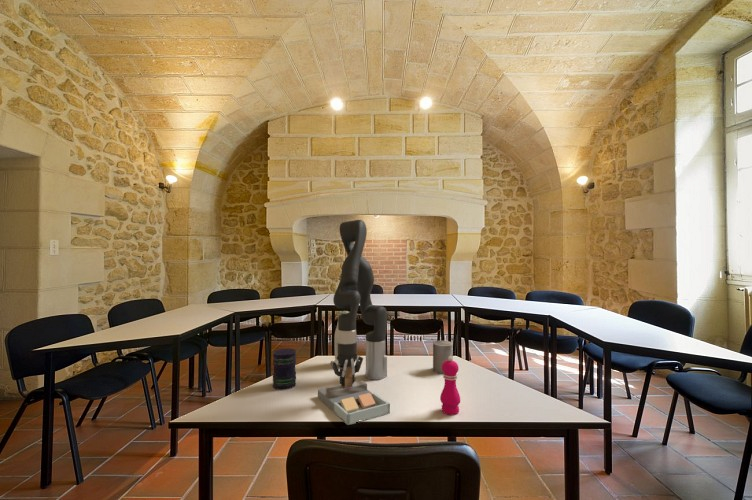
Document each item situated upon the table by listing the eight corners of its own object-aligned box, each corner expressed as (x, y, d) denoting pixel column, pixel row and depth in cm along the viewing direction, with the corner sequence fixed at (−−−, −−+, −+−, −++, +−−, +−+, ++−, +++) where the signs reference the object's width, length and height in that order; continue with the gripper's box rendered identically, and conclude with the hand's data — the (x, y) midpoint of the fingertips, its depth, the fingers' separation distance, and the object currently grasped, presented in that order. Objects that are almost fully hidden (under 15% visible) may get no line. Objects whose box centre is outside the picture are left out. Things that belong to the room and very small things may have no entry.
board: (355, 388, 148) (355, 381, 148) (374, 402, 135) (374, 394, 135) (317, 396, 139) (317, 389, 139) (334, 412, 126) (334, 404, 126)
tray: (374, 402, 135) (374, 393, 135) (389, 413, 125) (389, 403, 125) (334, 412, 126) (334, 402, 126) (347, 425, 116) (347, 414, 116)
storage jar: (278, 391, 145) (278, 356, 145) (268, 385, 152) (268, 351, 152) (300, 385, 151) (300, 351, 151) (289, 379, 159) (289, 347, 159)
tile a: (369, 395, 133) (370, 392, 133) (374, 406, 130) (375, 403, 129) (357, 398, 131) (358, 395, 130) (363, 409, 127) (364, 406, 126)
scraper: (362, 386, 142) (362, 361, 142) (367, 389, 139) (366, 363, 139) (326, 395, 134) (326, 367, 134) (330, 398, 131) (330, 370, 131)
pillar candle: (432, 366, 177) (432, 337, 177) (452, 367, 176) (452, 338, 176) (433, 373, 167) (433, 342, 167) (453, 374, 166) (453, 343, 166)
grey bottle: (332, 367, 176) (332, 312, 176) (338, 361, 186) (338, 309, 186) (351, 368, 174) (351, 312, 174) (355, 362, 184) (356, 309, 185)
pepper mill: (456, 417, 122) (456, 360, 122) (437, 412, 126) (437, 357, 126) (463, 409, 128) (462, 355, 128) (444, 405, 132) (444, 352, 132)
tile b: (352, 399, 130) (353, 396, 129) (357, 410, 126) (358, 407, 125) (340, 402, 127) (341, 399, 126) (345, 413, 123) (346, 411, 123)
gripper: (358, 336, 143) (358, 378, 143) (326, 341, 136) (326, 385, 136) (367, 340, 137) (367, 384, 137) (334, 345, 130) (334, 391, 129)
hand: (347, 384), depth 136 cm, fingers closed on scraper, 3 cm apart
